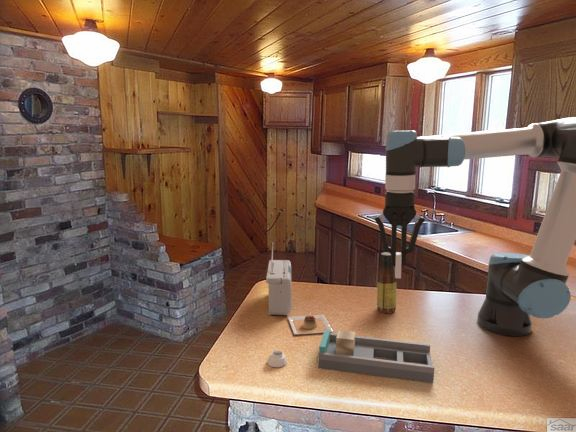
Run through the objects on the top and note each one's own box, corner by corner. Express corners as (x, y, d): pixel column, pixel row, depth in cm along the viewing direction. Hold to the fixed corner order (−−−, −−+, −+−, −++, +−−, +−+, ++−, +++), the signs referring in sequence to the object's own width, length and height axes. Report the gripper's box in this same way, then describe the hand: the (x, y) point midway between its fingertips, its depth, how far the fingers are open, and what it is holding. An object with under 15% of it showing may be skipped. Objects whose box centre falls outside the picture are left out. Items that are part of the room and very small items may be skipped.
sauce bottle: (398, 309, 146) (401, 252, 142) (392, 315, 141) (395, 257, 137) (379, 305, 150) (382, 249, 146) (373, 311, 144) (375, 254, 141)
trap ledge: (428, 357, 115) (430, 338, 114) (433, 382, 104) (434, 362, 103) (325, 345, 121) (325, 327, 120) (318, 368, 110) (318, 348, 109)
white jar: (276, 356, 116) (263, 363, 112) (276, 346, 115) (263, 353, 111) (290, 362, 113) (278, 370, 109) (290, 352, 112) (278, 360, 108)
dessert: (333, 335, 129) (333, 320, 128) (294, 337, 127) (294, 322, 126) (323, 317, 140) (324, 304, 140) (287, 320, 139) (287, 306, 138)
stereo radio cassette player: (291, 317, 140) (291, 258, 136) (265, 317, 140) (265, 257, 136) (291, 293, 160) (291, 241, 156) (269, 293, 160) (269, 241, 156)
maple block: (354, 347, 115) (355, 331, 114) (353, 355, 111) (353, 339, 110) (337, 345, 116) (338, 330, 115) (335, 353, 112) (336, 337, 111)
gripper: (424, 188, 115) (421, 273, 119) (374, 188, 117) (373, 271, 122) (427, 192, 107) (424, 282, 112) (374, 192, 110) (373, 280, 115)
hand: (397, 276), depth 117 cm, fingers closed
